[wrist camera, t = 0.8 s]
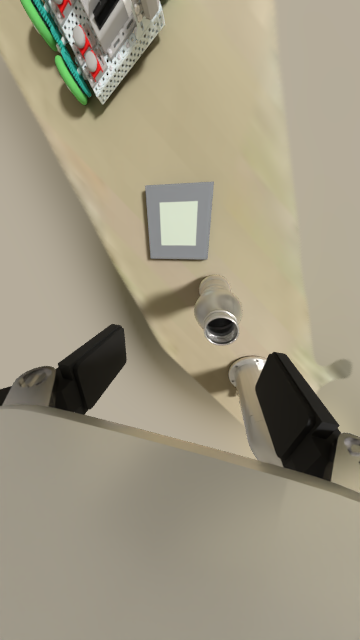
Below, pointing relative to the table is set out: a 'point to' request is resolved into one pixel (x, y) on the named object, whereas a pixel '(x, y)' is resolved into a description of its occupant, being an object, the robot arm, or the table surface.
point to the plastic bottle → (218, 310)
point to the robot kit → (112, 34)
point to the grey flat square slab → (179, 220)
